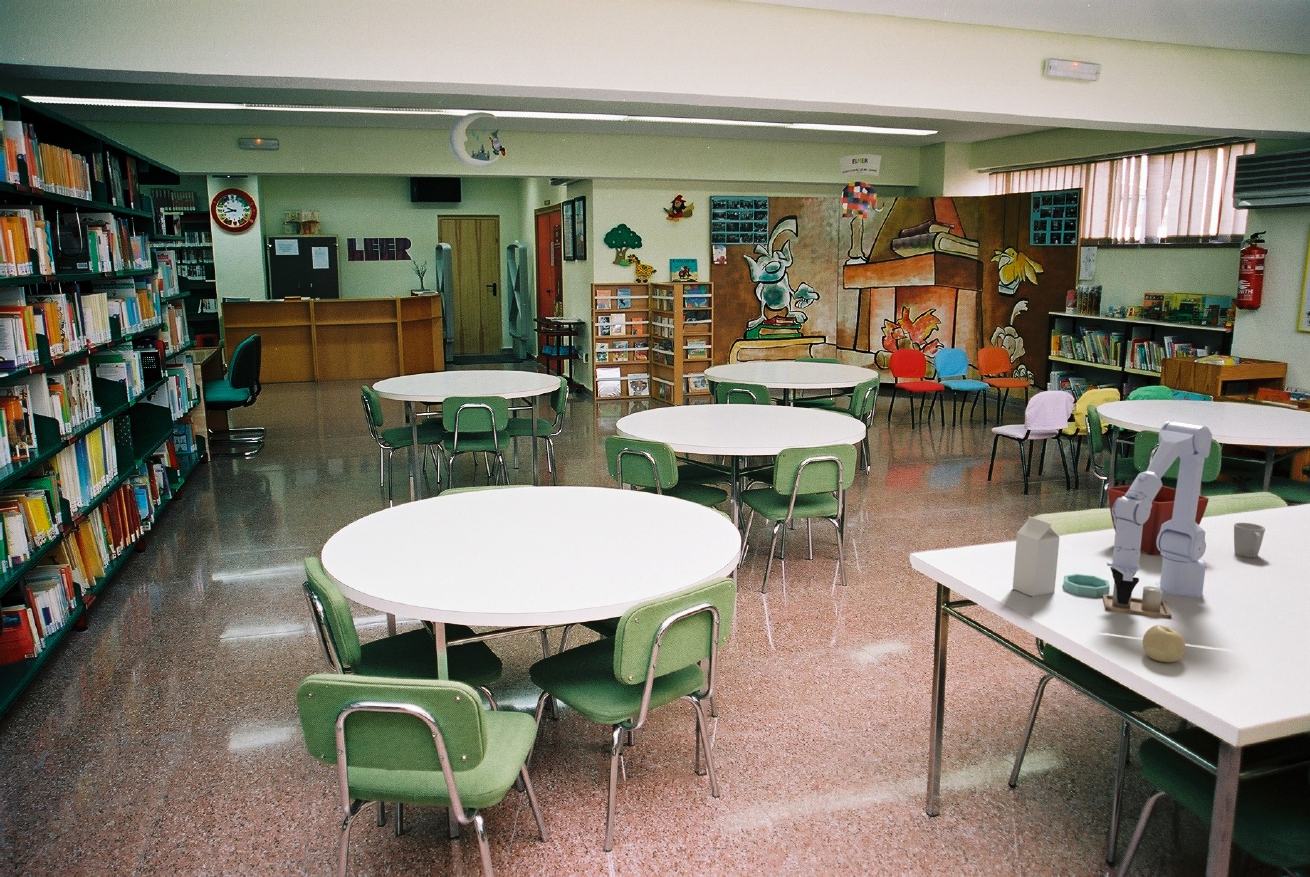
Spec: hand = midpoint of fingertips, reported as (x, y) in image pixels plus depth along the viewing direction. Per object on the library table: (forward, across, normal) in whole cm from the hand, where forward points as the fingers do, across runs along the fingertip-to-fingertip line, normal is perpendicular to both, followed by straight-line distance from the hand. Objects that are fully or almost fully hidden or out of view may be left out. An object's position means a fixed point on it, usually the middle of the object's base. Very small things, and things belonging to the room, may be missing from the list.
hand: (1121, 600), depth 226 cm
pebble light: (+1, 0, +6) cm, 7 cm away
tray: (+2, 0, +3) cm, 4 cm away
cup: (+2, -59, +38) cm, 70 cm away
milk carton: (+2, -4, -20) cm, 20 cm away
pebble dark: (+1, 0, 0) cm, 1 cm away
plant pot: (+2, -57, +13) cm, 59 cm away
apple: (+2, +30, +5) cm, 31 cm away
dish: (+2, -10, -7) cm, 12 cm away
